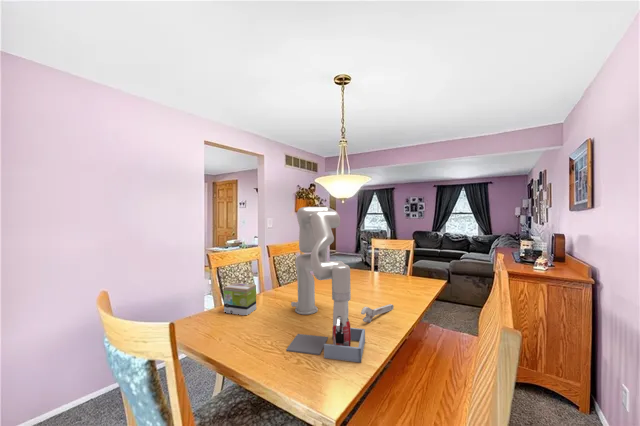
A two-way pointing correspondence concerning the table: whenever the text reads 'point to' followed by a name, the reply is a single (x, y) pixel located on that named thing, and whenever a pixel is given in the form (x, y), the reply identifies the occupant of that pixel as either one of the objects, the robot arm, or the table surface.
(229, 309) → the tea box
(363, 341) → the cubby
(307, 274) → the robot arm
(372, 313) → the wrench
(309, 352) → the mat
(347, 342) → the soda can
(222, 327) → the table surface
